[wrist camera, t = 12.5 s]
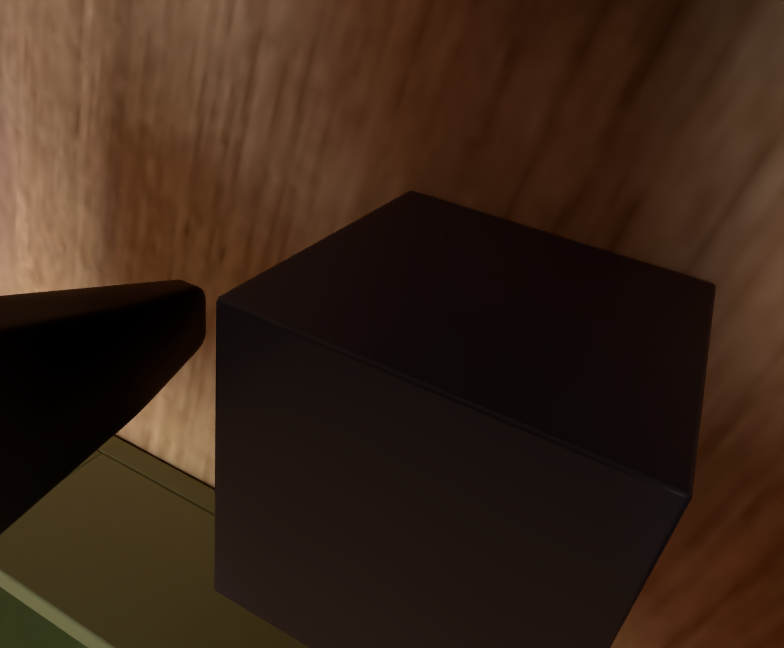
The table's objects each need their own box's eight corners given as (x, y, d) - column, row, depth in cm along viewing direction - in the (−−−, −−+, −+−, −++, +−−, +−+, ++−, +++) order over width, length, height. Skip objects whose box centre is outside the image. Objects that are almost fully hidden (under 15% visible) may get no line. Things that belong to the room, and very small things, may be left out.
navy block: (371, 415, 12) (212, 591, 8) (410, 188, 10) (213, 296, 6) (608, 522, 11) (535, 786, 7) (717, 284, 8) (692, 495, 5)
